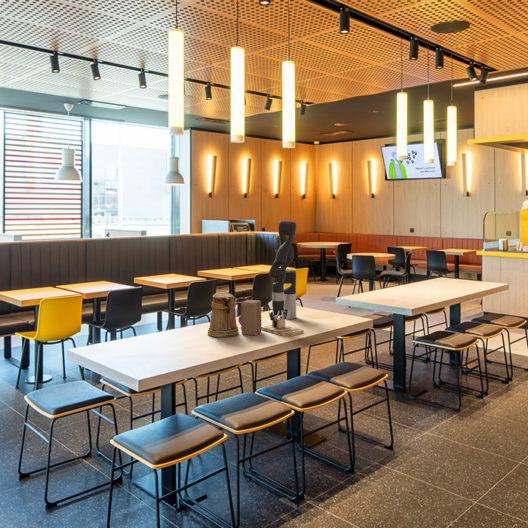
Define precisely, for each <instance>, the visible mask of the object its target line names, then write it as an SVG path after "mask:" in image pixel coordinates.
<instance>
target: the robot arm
mask: <svg viewBox="0 0 528 528" xmlns="http://www.w3.org/2000/svg"><path fill="white" fill-rule="evenodd" d="M277 229H278V237H279V239H278V240H279V248H278V249H277V251H276V254H275V259H274V261H273V263H272V264H271V266H270V268H269V271H268V272H269V275H268V276H269V277H270V278H271V279H275V280H276V279H277V280H278V281H277V282H273V283H272V286H271V288H272V289H271V290H272V292H271V307H272V310H271V311H270V310H269V311H268V315H269V320H270V321H273V326H274V327H277V318H282V319H285V320H294V319H297V272H296V270H294V269H293V270H292V269H289V270H288V269H287V268H288V267H289V265H290V264H291V263H292V262H293V260H294V258H295V250H294V247H293V245H292V244H293V241H294V239H295V236H296V232H297V223H296V222H295V221H292V220H291V221H290V220H280V221H279V223H278V227H277ZM287 236H288V237H287ZM289 284H290V285H289ZM285 285H289V286H288V287H286V288H284V287H285Z"/></svg>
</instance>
